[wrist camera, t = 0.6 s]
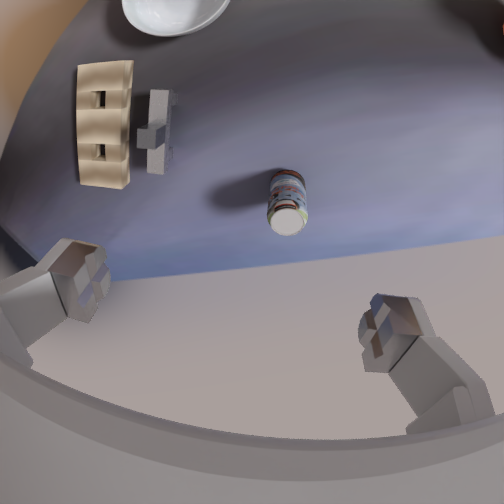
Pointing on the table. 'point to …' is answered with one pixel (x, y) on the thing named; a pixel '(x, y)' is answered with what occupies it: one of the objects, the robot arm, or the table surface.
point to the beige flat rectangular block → (104, 123)
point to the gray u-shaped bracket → (158, 131)
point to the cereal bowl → (172, 15)
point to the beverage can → (287, 203)
